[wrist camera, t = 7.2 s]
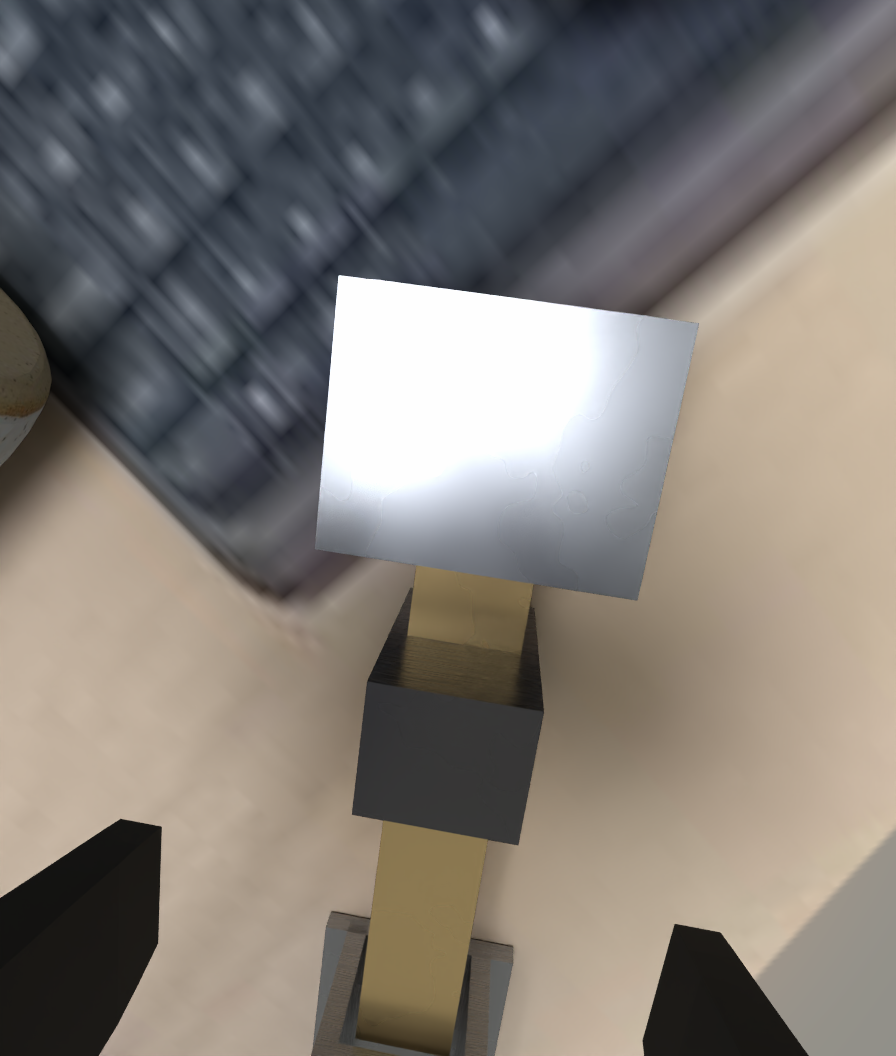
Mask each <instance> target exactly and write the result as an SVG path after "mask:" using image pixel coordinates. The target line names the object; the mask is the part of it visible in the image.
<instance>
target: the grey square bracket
mask: <svg viewBox="0 0 896 1056" xmlns="http://www.w3.org/2000/svg"><path fill="white" fill-rule="evenodd" d="M698 326H699V323H692V322H685V321H677V320H670V319H667V318H659V317H652V316H644V315H637V314H629V313H622V312H614V311H607V310H599V309H592V308H584V307H577V306H569V305H562V304H554V303H547V302H539V301H532V300H524V299H517V298H509V297H502V296H494V295H487V294H480V293H472V292H465V291H457V290H450V289H442V288H435V287H427V286H420V285H412V284H405V283H397V282H390V281H382V280H375V279H372V280H370V279H362V278H355V277H347V276H340V275H339V279H338V291H337V302H336V313H335V325H334V336H333V348H332V359H331V371H330V382H329V393H328V405H327V416H326V428H325V439H324V451H323V462H322V473H321V485H320V496H319V508H318V519H317V531H316V542H315V549H318V550H324V551H330V552H337V553H343V554H349V555H355V556H362V557H368V558H374V559H380V560H387V561H393V562H399V563H405V564H412V565H418V566H424V567H430V568H437V569H443V570H449V571H455V572H462V573H468V574H474V575H481V576H487V577H493V578H499V579H506V580H512V581H518V582H524V583H531V584H537V585H543V586H549V587H556V588H562V589H568V590H574V591H581V592H587V593H593V594H599V595H606V596H612V597H618V598H624V599H631V600H638V595H639V591H640V586H641V582H642V577H643V573H644V569H645V564H646V560H647V555H648V551H649V546H650V542H651V537H652V533H653V528H654V524H655V519H656V515H657V510H658V506H659V501H660V497H661V492H662V488H663V483H664V479H665V474H666V470H667V465H668V461H669V456H670V452H671V447H672V443H673V438H674V434H675V429H676V425H677V420H678V416H679V411H680V407H681V402H682V398H683V393H684V389H685V384H686V380H687V375H688V371H689V366H690V362H691V357H692V353H693V348H694V344H695V339H696V335H697V330H698Z"/></svg>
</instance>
